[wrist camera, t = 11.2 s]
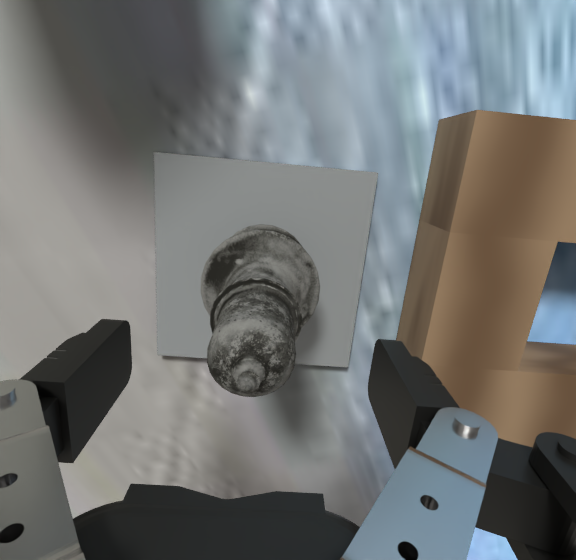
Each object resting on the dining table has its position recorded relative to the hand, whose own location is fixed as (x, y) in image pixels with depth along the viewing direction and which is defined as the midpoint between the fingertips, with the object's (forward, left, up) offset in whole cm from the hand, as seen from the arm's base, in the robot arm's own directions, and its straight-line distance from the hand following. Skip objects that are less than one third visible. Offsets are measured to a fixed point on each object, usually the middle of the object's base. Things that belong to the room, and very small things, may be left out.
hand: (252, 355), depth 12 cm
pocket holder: (-18, 0, -11) cm, 21 cm away
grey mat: (0, 0, -11) cm, 11 cm away
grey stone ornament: (0, 0, -10) cm, 10 cm away
